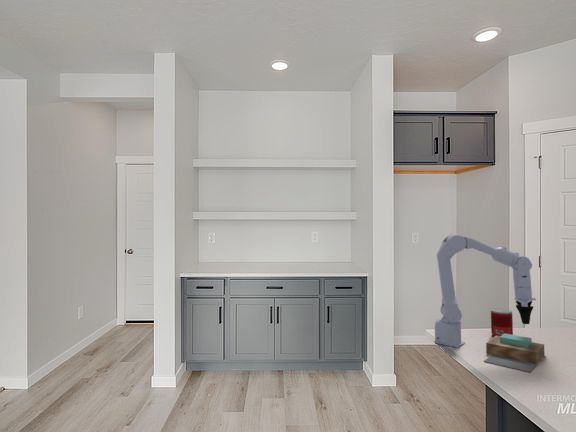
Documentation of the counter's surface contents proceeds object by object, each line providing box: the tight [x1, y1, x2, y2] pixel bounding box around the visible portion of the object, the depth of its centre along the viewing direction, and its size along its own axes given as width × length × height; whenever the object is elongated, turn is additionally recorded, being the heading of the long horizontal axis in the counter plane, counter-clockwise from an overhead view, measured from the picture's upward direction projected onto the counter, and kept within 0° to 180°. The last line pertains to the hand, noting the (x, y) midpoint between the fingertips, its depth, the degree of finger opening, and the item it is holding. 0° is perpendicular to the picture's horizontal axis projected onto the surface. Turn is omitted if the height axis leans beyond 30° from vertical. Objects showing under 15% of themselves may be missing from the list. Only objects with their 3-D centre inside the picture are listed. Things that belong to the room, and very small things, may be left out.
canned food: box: [490, 308, 514, 338], centre depth 161 cm, size 8×8×11 cm
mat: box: [483, 354, 538, 374], centre depth 130 cm, size 14×9×1 cm, turn 45°
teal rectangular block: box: [500, 333, 533, 348], centre depth 140 cm, size 9×6×2 cm, turn 45°
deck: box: [485, 336, 545, 365], centre depth 139 cm, size 16×12×4 cm
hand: (525, 321), depth 147 cm, fingers open, 7 cm apart
